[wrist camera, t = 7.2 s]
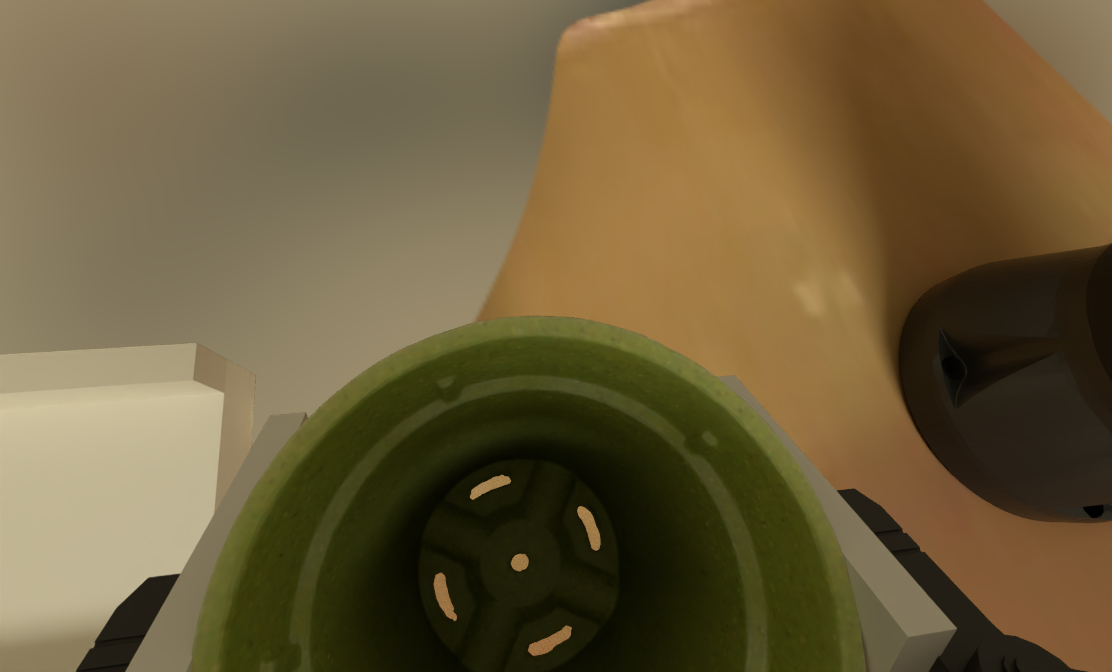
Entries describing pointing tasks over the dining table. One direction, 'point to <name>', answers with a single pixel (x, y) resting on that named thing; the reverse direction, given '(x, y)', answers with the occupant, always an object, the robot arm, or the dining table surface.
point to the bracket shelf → (106, 483)
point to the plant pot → (532, 521)
